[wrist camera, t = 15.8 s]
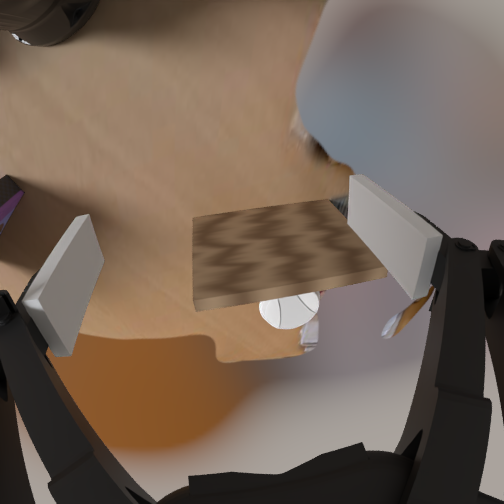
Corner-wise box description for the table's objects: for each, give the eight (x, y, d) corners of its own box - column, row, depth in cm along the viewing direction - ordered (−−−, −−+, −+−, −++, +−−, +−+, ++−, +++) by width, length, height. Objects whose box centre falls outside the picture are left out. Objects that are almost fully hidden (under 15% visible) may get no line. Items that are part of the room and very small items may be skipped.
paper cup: (236, 239, 48) (251, 301, 36) (283, 219, 47) (314, 274, 35) (254, 277, 52) (273, 340, 40) (298, 258, 51) (328, 317, 40)
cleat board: (205, 282, 56) (213, 373, 39) (192, 217, 49) (193, 300, 32) (325, 263, 58) (372, 340, 41) (327, 199, 51) (388, 265, 34)
